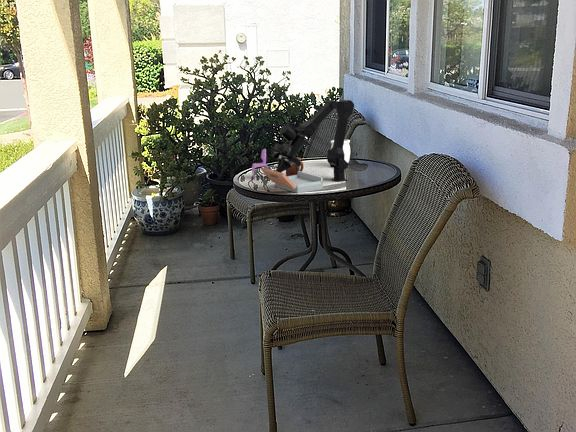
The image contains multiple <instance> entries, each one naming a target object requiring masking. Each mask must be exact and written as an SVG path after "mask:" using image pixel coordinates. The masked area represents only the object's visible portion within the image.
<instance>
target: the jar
mask: <svg viewBox="0 0 576 432" xmlns="http://www.w3.org/2000/svg"><path fill="white" fill-rule="evenodd" d="M350 142H351V140H350V139H344V145H343V151H344V154H345V156H344V160H345V161H346V162H347V163H348V164H349V163H350V157H351V146H350ZM330 144H331V147H330V150H331V149H332V147H333V144H334V139H332V140H330ZM348 168H349V166H348Z"/></svg>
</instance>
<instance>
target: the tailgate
mask: <svg viewBox="0 0 576 432" xmlns="http://www.w3.org/2000/svg"><path fill="white" fill-rule="evenodd" d="M260 170H261V171H262V173H263V174H264V175H265V176H266V177H267V178H268V179H269V180H270V181H271V182H272V183H274V184H275V183H277V184H280V185H283V186H287V187H290V188H293V189H295V188H296V186H295V185H294V184H293V183H292V182H291V181H290V180H289V178H288V177H287V176H286V173H283V172H281V173H280V172H277V171H276V170H274V169H273V170H272V169H269V168H268V169H266V167H261V168H260Z"/></svg>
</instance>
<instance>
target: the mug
mask: <svg viewBox="0 0 576 432" xmlns="http://www.w3.org/2000/svg"><path fill="white" fill-rule="evenodd" d="M296 157H297V156H296ZM297 158H298V159H299V160H300V161H301V159H302V158H301V157H297ZM291 166H292V167H290V168H288V169H286V170H285V175H286V176H293V175H298V171H301V172H304V162H303V161H301V166H300V167H299V168H298V167H296V166H295V164H294V163H292V165H291Z"/></svg>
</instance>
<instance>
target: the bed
mask: <svg viewBox="0 0 576 432" xmlns="http://www.w3.org/2000/svg"><path fill="white" fill-rule="evenodd" d="M287 177H288V178H289V180H290V181H291V182H292V183H293V184H294V185H295V186H296V188H295V189H293V188H290V187H287V186H283V185H280V184H277V183H274V186H275V187H277V188H280V189H283V190H286V191H290V192H293V193H296V192H297V193H296V194H300V193H299V192H301V193H306V192H311V191H312V192H313V191H318V190H322V189H324V180H323V179H324V178H323V176H320V175H315V174H312V173H308V172H306V171H305V172H304V171H302V172H301V171H298V175H293V176H287Z"/></svg>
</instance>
